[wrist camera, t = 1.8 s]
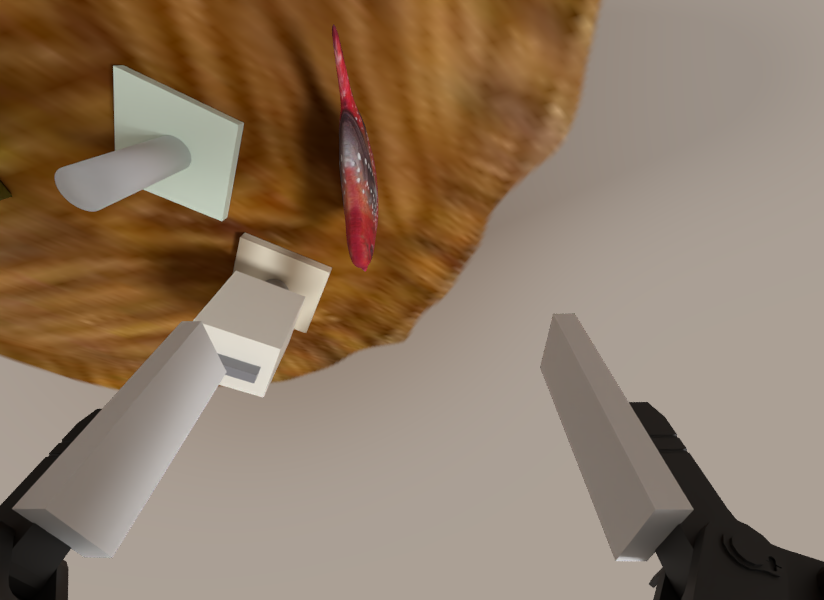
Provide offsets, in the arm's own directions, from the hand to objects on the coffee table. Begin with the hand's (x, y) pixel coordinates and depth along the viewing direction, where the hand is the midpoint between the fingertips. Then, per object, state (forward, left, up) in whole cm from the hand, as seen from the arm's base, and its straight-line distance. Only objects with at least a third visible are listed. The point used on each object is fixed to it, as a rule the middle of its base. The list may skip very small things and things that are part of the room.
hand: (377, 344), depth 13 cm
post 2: (-8, -19, -25) cm, 32 cm away
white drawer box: (-8, -18, -20) cm, 28 cm away
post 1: (-20, -7, -25) cm, 33 cm away
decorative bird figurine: (-4, 0, -25) cm, 25 cm away
